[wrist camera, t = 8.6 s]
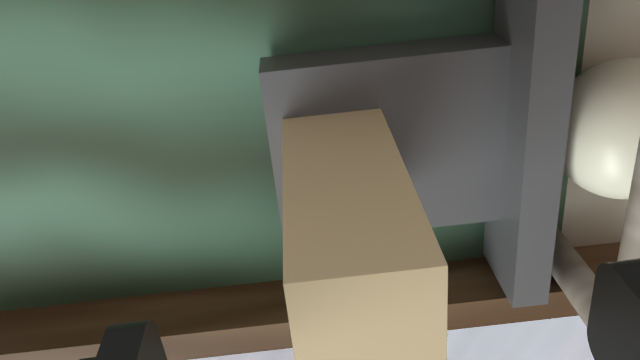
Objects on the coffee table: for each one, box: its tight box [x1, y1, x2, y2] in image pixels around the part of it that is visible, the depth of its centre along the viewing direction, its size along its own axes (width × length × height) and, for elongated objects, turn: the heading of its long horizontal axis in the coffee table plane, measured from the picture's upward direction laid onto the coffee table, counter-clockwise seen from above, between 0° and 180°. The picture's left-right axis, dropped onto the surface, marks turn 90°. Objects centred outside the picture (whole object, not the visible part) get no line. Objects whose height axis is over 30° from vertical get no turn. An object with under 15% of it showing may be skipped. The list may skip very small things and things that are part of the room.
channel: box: [0, 0, 640, 360], centre depth 18 cm, size 14×30×8 cm, turn 95°
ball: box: [564, 58, 640, 199], centre depth 18 cm, size 4×4×4 cm
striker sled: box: [259, 0, 584, 360], centre depth 15 cm, size 11×9×10 cm
